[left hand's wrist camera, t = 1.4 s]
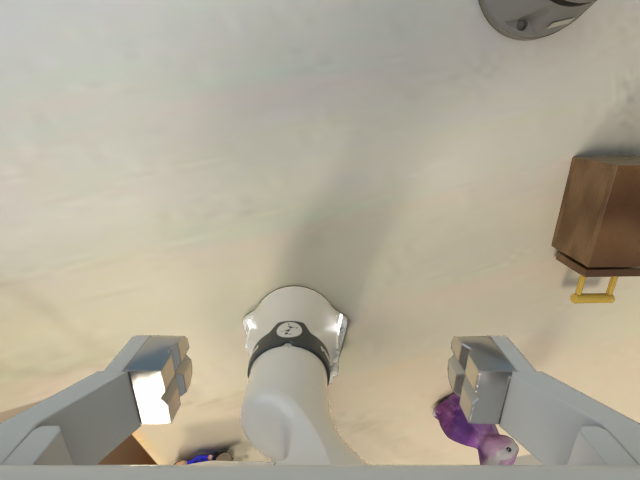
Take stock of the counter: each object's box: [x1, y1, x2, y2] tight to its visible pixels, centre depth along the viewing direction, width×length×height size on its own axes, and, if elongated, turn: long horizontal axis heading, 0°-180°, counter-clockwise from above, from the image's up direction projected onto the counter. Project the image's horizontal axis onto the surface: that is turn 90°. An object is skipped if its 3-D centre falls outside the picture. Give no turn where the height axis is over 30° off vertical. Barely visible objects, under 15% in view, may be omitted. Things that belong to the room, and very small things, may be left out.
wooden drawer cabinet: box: [552, 156, 640, 267], centre depth 51 cm, size 14×10×8 cm, turn 1°
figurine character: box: [174, 449, 234, 465], centre depth 72 cm, size 7×8×15 cm
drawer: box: [556, 252, 640, 303], centre depth 52 cm, size 19×8×7 cm, turn 1°
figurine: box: [432, 393, 519, 465], centre depth 62 cm, size 9×10×15 cm
